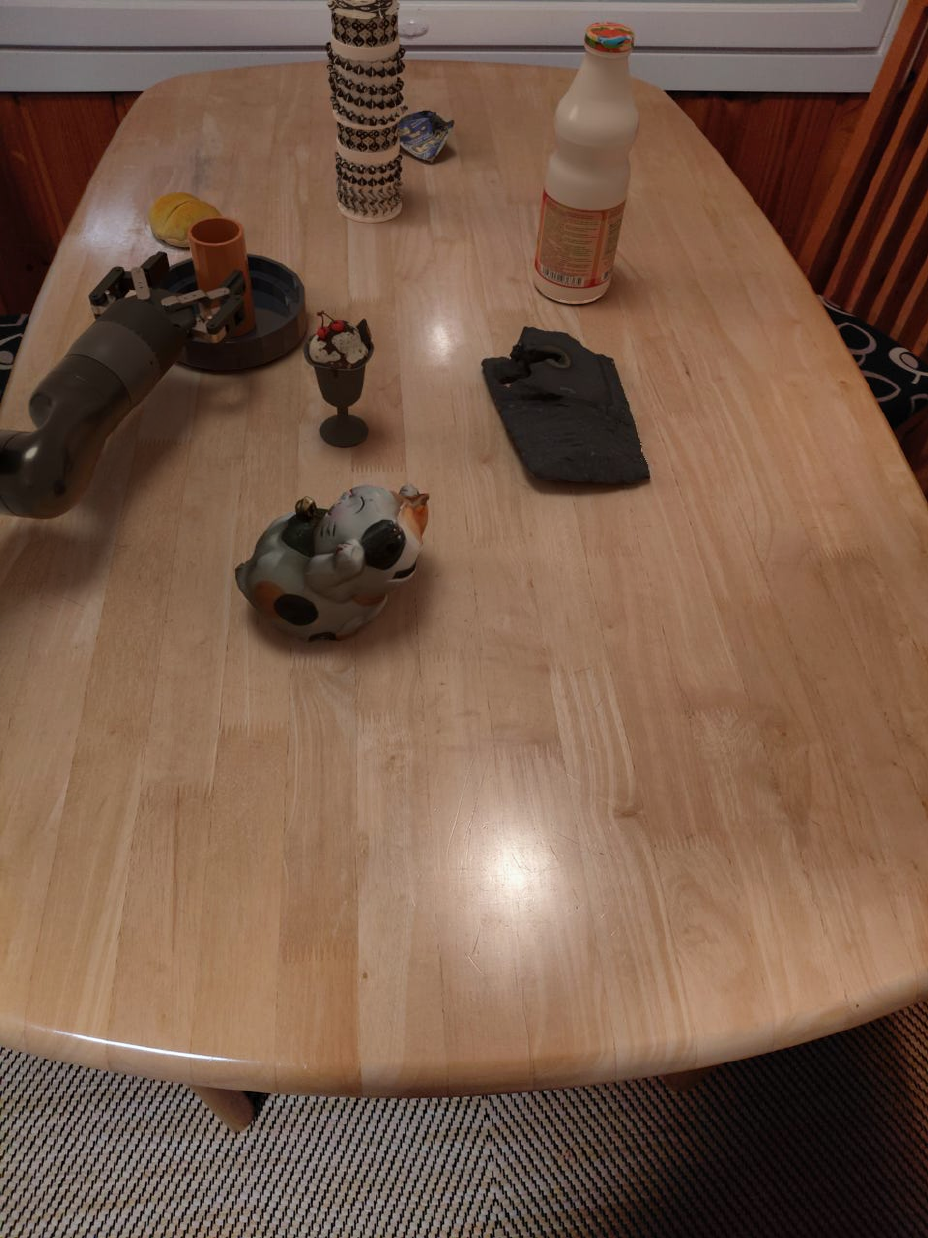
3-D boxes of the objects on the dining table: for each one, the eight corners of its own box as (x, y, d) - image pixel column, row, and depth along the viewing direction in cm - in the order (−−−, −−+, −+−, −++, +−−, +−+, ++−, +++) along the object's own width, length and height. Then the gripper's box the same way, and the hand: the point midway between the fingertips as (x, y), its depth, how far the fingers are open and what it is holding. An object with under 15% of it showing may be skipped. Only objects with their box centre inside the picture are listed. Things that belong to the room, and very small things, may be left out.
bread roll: (187, 205, 121) (182, 174, 117) (234, 231, 117) (230, 201, 114) (135, 229, 116) (128, 198, 113) (182, 257, 113) (176, 226, 110)
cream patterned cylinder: (393, 230, 119) (391, 10, 100) (324, 216, 121) (309, -4, 101) (413, 195, 125) (416, -19, 105) (348, 183, 126) (338, -32, 106)
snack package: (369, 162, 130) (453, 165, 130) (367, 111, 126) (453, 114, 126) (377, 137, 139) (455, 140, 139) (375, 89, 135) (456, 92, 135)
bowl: (207, 395, 98) (201, 363, 95) (122, 318, 105) (114, 286, 102) (338, 334, 105) (336, 303, 102) (250, 266, 113) (246, 235, 110)
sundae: (304, 448, 93) (290, 319, 82) (319, 406, 98) (308, 276, 86) (368, 457, 93) (364, 328, 81) (381, 414, 97) (379, 285, 85)
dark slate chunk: (507, 497, 91) (511, 461, 87) (477, 358, 104) (480, 321, 100) (658, 489, 93) (669, 453, 89) (610, 353, 106) (618, 317, 102)
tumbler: (223, 343, 102) (206, 251, 94) (195, 319, 105) (176, 227, 96) (265, 325, 105) (253, 233, 96) (237, 302, 107) (223, 210, 98)
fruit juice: (548, 311, 110) (584, 53, 88) (521, 268, 116) (549, 14, 94) (620, 301, 112) (674, 46, 90) (591, 259, 118) (634, 9, 96)
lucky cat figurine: (307, 511, 88) (376, 408, 79) (400, 598, 88) (479, 505, 79) (205, 582, 76) (272, 472, 68) (312, 682, 77) (393, 585, 68)
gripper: (183, 341, 82) (262, 249, 92) (40, 306, 84) (132, 219, 94) (197, 408, 88) (270, 315, 98) (64, 374, 90) (148, 285, 100)
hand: (202, 268), depth 96 cm, fingers open, 8 cm apart
